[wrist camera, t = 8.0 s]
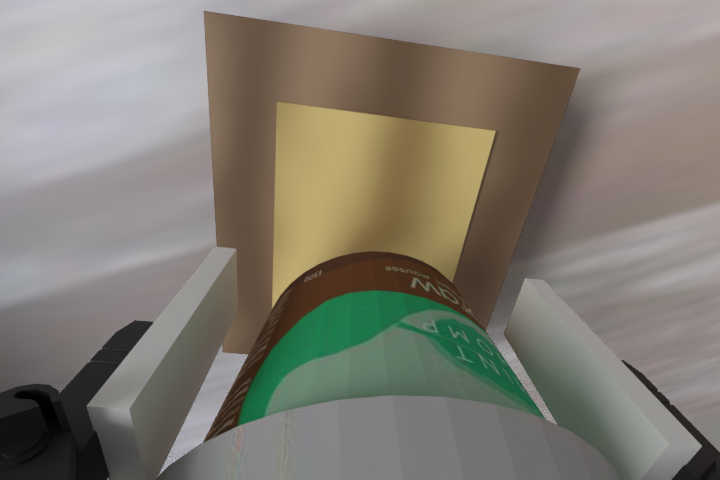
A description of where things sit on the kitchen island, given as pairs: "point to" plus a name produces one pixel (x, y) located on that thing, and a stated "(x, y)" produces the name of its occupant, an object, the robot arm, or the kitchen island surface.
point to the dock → (370, 155)
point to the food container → (381, 390)
